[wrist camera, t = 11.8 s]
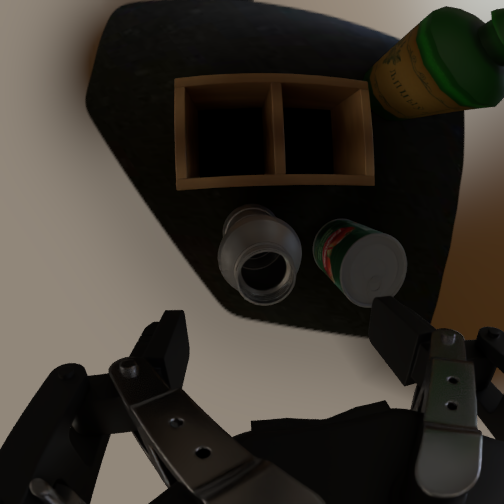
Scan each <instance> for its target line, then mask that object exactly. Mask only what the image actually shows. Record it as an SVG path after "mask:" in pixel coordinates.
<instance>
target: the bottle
mask: <svg viewBox="0 0 504 504" xmlns="http://www.w3.org/2000/svg"><path fill="white" fill-rule="evenodd" d="M491 15H492V20H490V21H489V22H487V23H486V24H485V23H484V22H483V21H482V20H480V19H479V18H478V17H476V16H475V15H473V14H471V13H468V12H466V11H464V10H461V9H458V8H453V7H447V6H446V7H443V8H440V9H438V10H435V11H433V12H431V13H430V14H429V15H428V16H427V17H426V18H424V19H423V20H422V21H421V22H420V23H419V24H418V25H417V26H415V27H414V28H413V29H412V30H411V31H410V32H409V33H408V34H407V35H405V36H404V37H403V38H402V39H401V40H400V41H399V42H398V43H397V44H396V45H395V46H393V47H392V48H391V49H390V50H389V51H388V52H387V53H386V54H385V55H384V56H383V57H382V58H381V59H380V60H379V61H377V62H376V63H375V64H374V65H373V66H372V67H371V68H370V69H369V70H368V71H367V72H366V73H365V76H364V79H363V81H366V82H368V89H369V90H368V91H369V98H370V108H371V109H372V111H373V112H374V113H375V114H377V115H379V116H380V117H382V118H384V119H385V120H387V121H403V120H408V119H413V118H418V117H424V116H430V115H436V114H442V113H448V112H455V111H462V110H469V109H477V108H487V107H495V106H496V105H497V104H498V103H499V102H500V101H501V100H502V99H503V98H504V8H503V9H496V10H494V11H491Z"/></svg>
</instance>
